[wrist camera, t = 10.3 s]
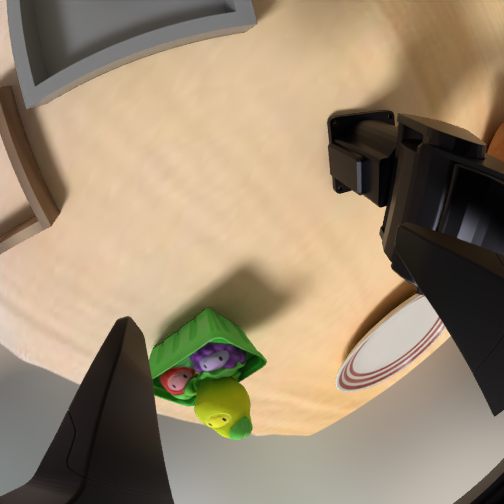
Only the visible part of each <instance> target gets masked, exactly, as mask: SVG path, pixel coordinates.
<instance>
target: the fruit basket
mask: <svg viewBox="0 0 504 504" xmlns="http://www.w3.org/2000/svg"><path fill="white" fill-rule="evenodd" d="M266 363H267V361H266V359H265V358H264V357H263V355H262V354H261V353H260V352H258V351H257V350H256V348H255V347H254V346H253V344H252V343H251V342H250V340H249V339H248V338H247V336H246V335H245V333H244V332H243V331H242V329H241V328H240V327H239V326H236V325H233V324H232V322H231V321H229V320H227V319H226V318H224V317H223V316H221V315H219V314H216V313H214V311H213V310H212V309H210V308H206V309H205V310H204V311H202V312H201V313H200V314H199V315H197V317H196V318H195V319H193V320H191V321H189V322H188V323H187V324H185V325H184V326H183V327H182V328H181V329H180V330H179V332H176V333H174V334H172V335H171V336H170V337H168V338H167V339H166V340H165V341H164V343H162V344H159V345H158V346H156V347H155V348H154V349H153V350H152V352H151V355H150V359H149V365H150V370H151V375H152V380H153V388H154V396H157V397H160V398H163V399H166V400H169V401H172V402H175V403H178V404H181V405H185V406H195V407H194V411H195V414H196V415H197V417H198V418H199V419H200V420H201V421H202V422H203V423H204V424H205V425H207V426H208V427H210V428H212V429H214V430H215V431H216V432H218V433H219V434H220V435H222V436H223V437H226V438H231V439H233V440H239V439H243V438H245V437H247V436H249V434H250V433H251V431H252V423H251V417H250V398H249V395H248V393H247V391H246V389H245V388H244V387H243V386H242V385H241V384H240V383H239V382H240V381H242V380H243V379H245V378H247V377H248V376H250V375H251V374H253V373H254V372H256V371H258V370H259V369H261V368H262V367H264V366H265V365H266Z"/></svg>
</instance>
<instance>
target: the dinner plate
mask: <svg viewBox="0 0 504 504" xmlns="http://www.w3.org/2000/svg"><path fill="white" fill-rule="evenodd" d="M445 329H446V327H445V326H444V324H443V322H442V321H441V319H440V318H439V316H438V315H437V313H436V312H435V310H434V309H433V307H432V306H431V304H430V303H429V301H428V300H427V299H426V297H425V296H424V295H419V294H415V295H413V296H412V297H410V298H409V299H407V300H406V301H404V302H403V303H402V304H400V305H399V306H398V307H396V308H395V309H394V310H392V311H391V312H390V313H389V314H387V315H386V316H385V317H384V318H383V319H382V320H381V321H379V322H378V323H377V324H376V325H375V326H374V327H373V328H372V329H371V330H370V331H369V332H368V333H367V334H366V335H365V336H364V337H363V338H362V339H361V340H360V341H359V342H358V344H357V345H356V346H355V347H354V348H353V350H352V351H351V352H350V353H349V355H348V356H347V358H346V359H345V361H344V362H343V364H342V366H341V367H340V369H339V371H338V374H337V377H336V387H337V388H338V389H339V390H340V391H344V392H353V391H359V390H362V389H366V388H369V387H371V386H374V385H376V384H378V383H380V382H382V381H384V380H386V379H388V378H390V377H392V376H393V375H395V374H397V373H398V372H400V371H401V370H403V369H404V368H405V367H407V366H408V365H409V364H411V363H412V362H413V361H415V360H416V359H417V358H418V357H419V356H420V355H422V354H423V353H424V352H425V351H426V350H427V349H428V348H429V347H430V346H431V345H432V344H433V343H434V342H435V341H436V340H437V339H438V338H439V336H440V335H441V334H442V333H443V331H444V330H445Z"/></svg>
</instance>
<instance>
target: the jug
mask: <svg viewBox="0 0 504 504" xmlns="http://www.w3.org/2000/svg"><path fill="white" fill-rule="evenodd" d="M487 154H489V155H491V156H493V157H496V158H498V159H500V160H502V161H503V162H504V122H503V123H502V124H501V125H500V127H499V128H498V129H497V131H496V132H495V135H494V137H493V139H492V141H491V144H490V146H489V149H488V152H487Z"/></svg>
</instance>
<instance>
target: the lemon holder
mask: <svg viewBox="0 0 504 504" xmlns="http://www.w3.org/2000/svg"><path fill="white" fill-rule="evenodd" d="M0 134H1V137H2V140H3V143H4V146H5V148H6V151H7V154H8V156H9V159H10V161H11V164H12V166H13V169H14V171H15V174H16V176H17V178H18V180H19V183H20V185H21V187H22V189H23V191H24V193H25V196H26V198H27V200H28V202H29V204H30V206H31V208H32V210H33V212H34V214H35V215H36V216H34V217H32V218H30V219H29V220H27V221H25V222H23V223H22V224H20V225H18V226H17V227H15V228H13V229H12V230H10V231H9V232H7V233H5V234H4V235H2V236H1V237H0V254H2V253H3V252H5V251H7V250H8V249H10V248H12V247H14V246H15V245H17V244H19V243H21V242H22V241H24V240H26V239H28V238H30V237H32V236H34V235H35V234H37V233H39V232H41V231H43V230H45V229H47V228H49V227H51V226H52V224H53V223H54V221H55V220H56V219H57V217H58V216H59V214H60V213H59V211H58V209H57V207H56V205H55V203H54V201H53V199H52V197H51V195H50V193H49V191H48V188H47V186H46V184H45V182H44V180H43V177H42V175H41V173H40V170H39V168H38V166H37V163H36V161H35V158H34V156H33V153H32V151H31V148H30V145H29V143H28V140H27V137H26V134H25V132H24V129H23V126H22V123H21V120H20V116H19V113H18V110H17V106H16V103H15V99H14V96H13V92H12V88H11V86H7V87H1V88H0Z"/></svg>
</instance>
